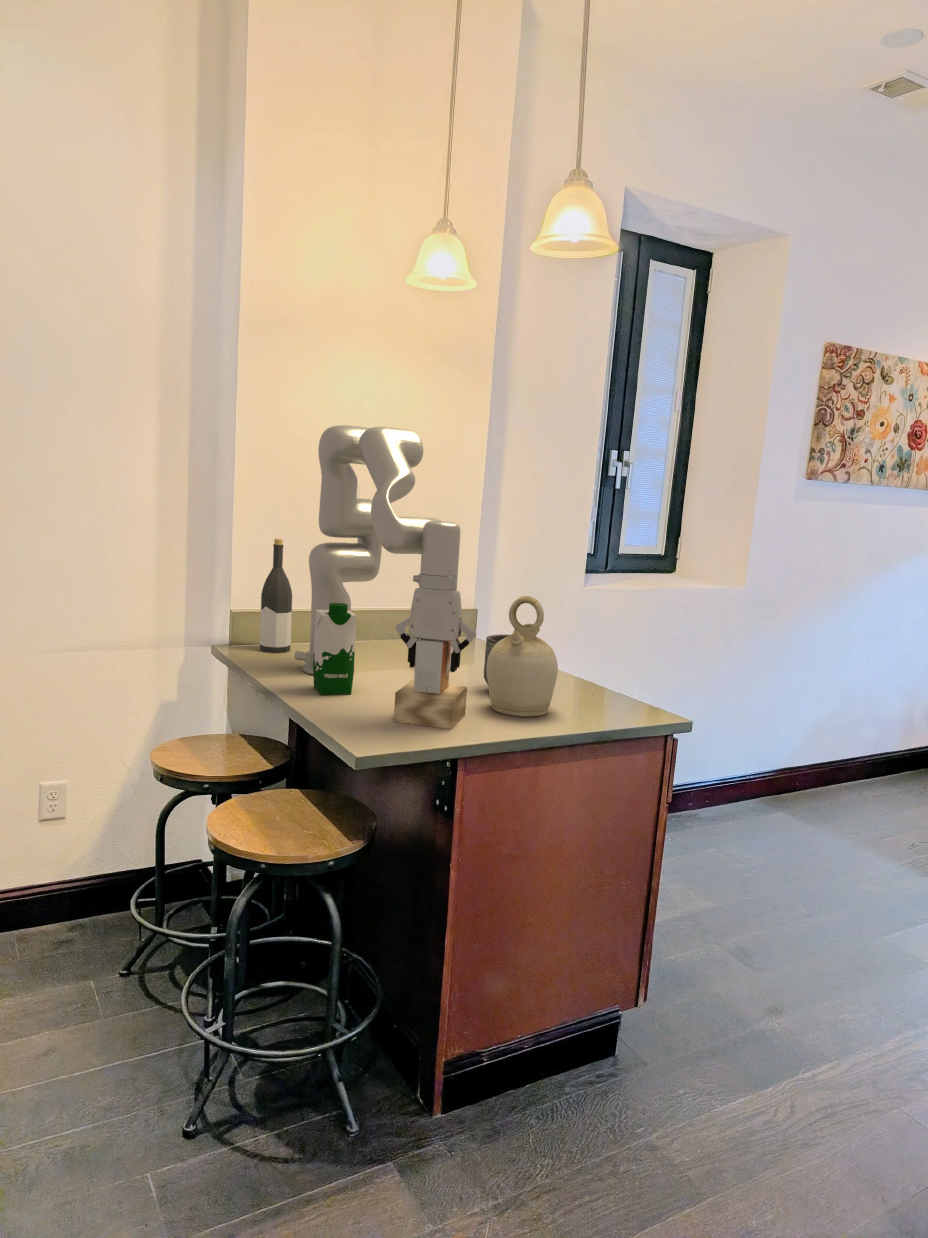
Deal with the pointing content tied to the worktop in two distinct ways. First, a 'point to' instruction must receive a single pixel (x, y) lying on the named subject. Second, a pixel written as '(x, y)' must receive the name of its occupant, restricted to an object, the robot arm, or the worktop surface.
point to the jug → (522, 668)
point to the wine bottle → (276, 607)
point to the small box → (432, 666)
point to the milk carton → (334, 650)
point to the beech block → (430, 706)
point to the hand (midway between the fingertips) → (433, 668)
